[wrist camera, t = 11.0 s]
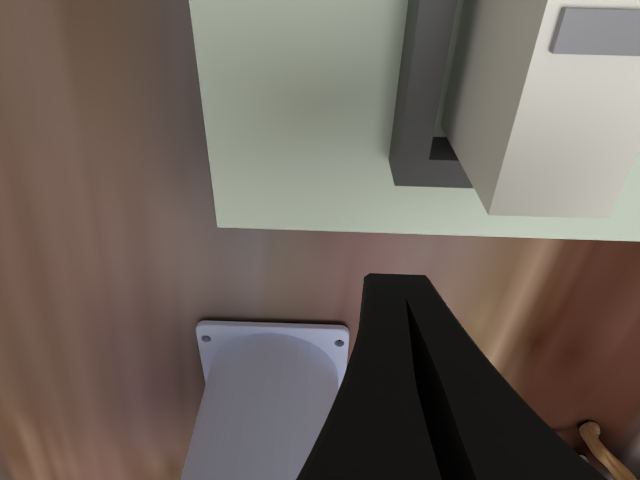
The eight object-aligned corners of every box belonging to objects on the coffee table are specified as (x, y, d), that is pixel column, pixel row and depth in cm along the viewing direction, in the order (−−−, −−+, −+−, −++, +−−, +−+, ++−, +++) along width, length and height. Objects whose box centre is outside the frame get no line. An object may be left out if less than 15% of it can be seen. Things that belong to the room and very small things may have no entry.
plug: (524, 128, 16) (612, 222, 11) (441, 126, 16) (490, 219, 11) (572, -34, 13) (719, -6, 8) (470, -37, 13) (555, -10, 8)
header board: (677, 227, 20) (729, 273, 17) (223, 212, 20) (206, 256, 17) (966, -274, 11) (1158, -333, 9) (164, -299, 11) (114, -366, 9)
